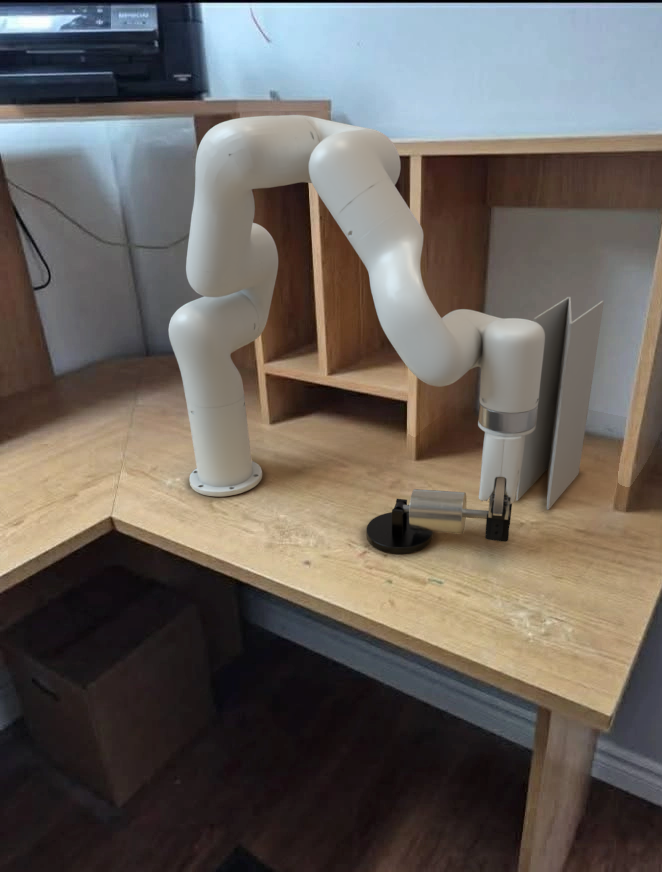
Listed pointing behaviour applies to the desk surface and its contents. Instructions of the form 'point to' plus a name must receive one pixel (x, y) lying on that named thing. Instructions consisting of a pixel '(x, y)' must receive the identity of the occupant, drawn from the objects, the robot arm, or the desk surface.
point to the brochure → (561, 398)
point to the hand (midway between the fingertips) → (497, 531)
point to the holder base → (396, 533)
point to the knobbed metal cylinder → (439, 511)
